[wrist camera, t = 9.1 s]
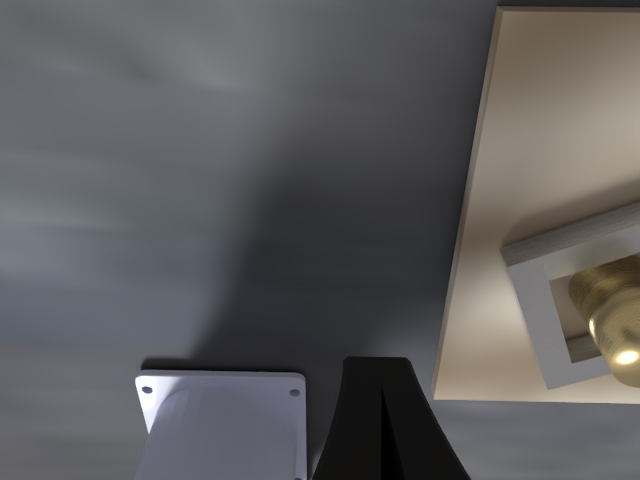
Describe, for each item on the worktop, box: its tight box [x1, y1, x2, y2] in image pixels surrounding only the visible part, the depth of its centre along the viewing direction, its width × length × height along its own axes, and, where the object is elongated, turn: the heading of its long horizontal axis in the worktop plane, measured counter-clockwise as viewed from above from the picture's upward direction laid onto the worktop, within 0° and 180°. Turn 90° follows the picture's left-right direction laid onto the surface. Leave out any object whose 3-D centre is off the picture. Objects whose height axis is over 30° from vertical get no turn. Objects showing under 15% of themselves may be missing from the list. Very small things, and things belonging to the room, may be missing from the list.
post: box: [568, 255, 640, 388], centre depth 20 cm, size 3×3×4 cm
